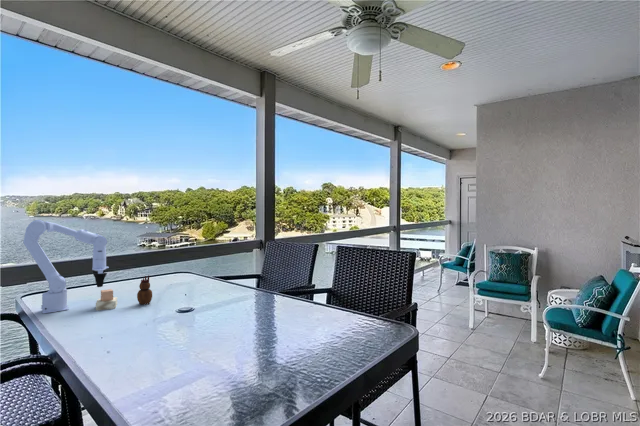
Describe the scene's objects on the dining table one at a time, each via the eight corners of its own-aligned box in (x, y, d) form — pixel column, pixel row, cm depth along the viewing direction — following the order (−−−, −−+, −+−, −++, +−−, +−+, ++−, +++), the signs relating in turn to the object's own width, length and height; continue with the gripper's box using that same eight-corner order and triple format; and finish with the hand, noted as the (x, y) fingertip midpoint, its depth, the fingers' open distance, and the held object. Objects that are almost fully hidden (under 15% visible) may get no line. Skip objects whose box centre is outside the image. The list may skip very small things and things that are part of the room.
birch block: (95, 311, 155) (95, 302, 155) (98, 306, 162) (98, 298, 162) (115, 309, 159) (115, 301, 159) (117, 304, 166) (117, 296, 166)
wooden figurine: (154, 302, 169) (154, 273, 169) (147, 305, 164) (147, 276, 163) (142, 301, 170) (142, 273, 170) (134, 305, 164) (135, 275, 164)
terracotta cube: (102, 301, 158) (102, 292, 158) (100, 299, 161) (100, 290, 161) (113, 299, 161) (113, 290, 161) (111, 297, 164) (111, 289, 164)
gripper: (110, 260, 163) (110, 287, 163) (107, 256, 174) (107, 281, 174) (93, 261, 158) (92, 289, 159) (91, 257, 170) (91, 283, 170)
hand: (99, 285), depth 166 cm, fingers open, 7 cm apart
